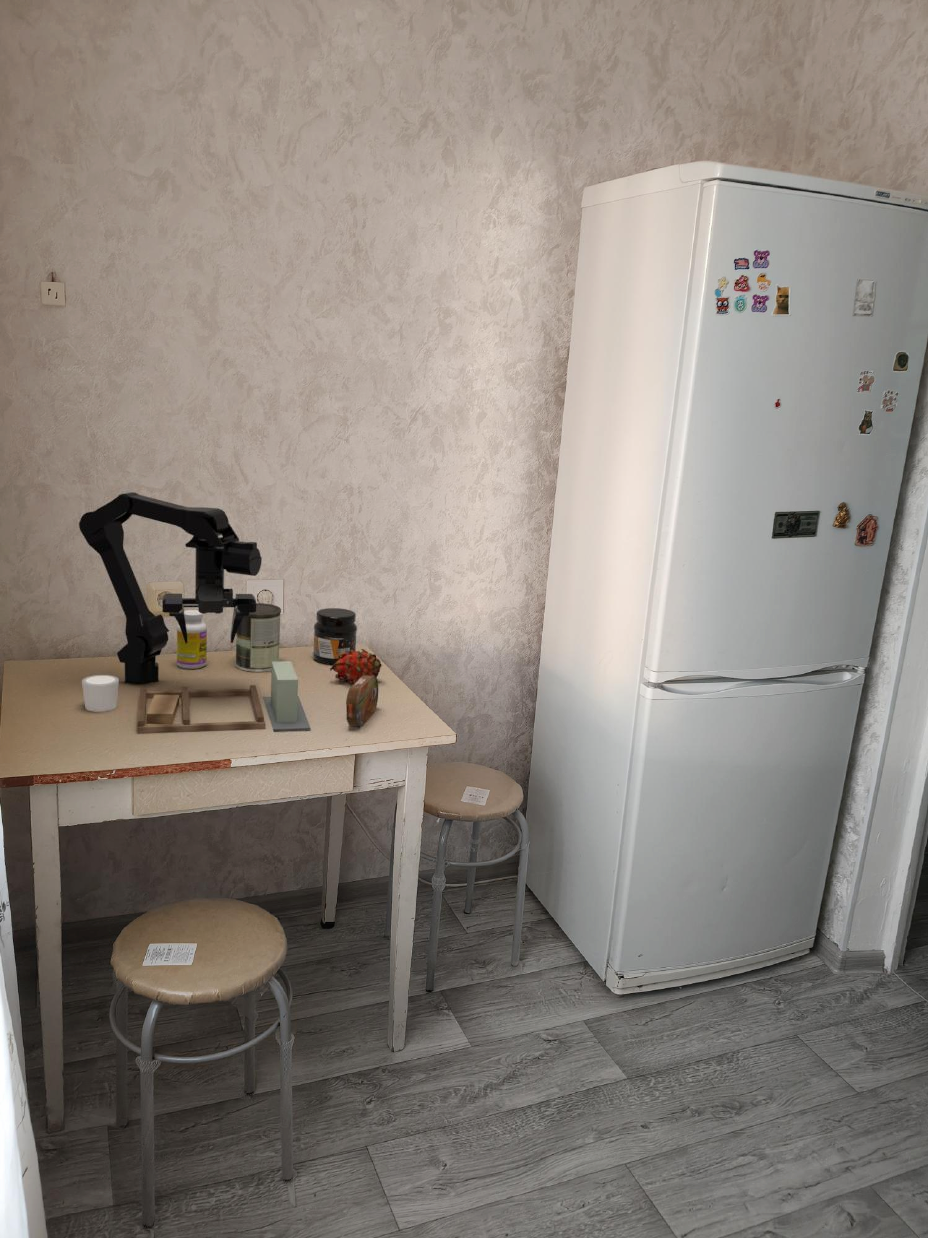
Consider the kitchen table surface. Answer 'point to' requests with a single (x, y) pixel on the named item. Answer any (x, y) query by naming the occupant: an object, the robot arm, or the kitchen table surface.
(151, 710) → the offcut short
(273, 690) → the pale green block
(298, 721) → the mat
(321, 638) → the supplement container
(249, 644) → the coffee can
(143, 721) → the rack
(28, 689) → the kitchen table surface
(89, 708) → the white cup
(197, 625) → the supplement bottle
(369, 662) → the dragon fruit
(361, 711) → the tin
